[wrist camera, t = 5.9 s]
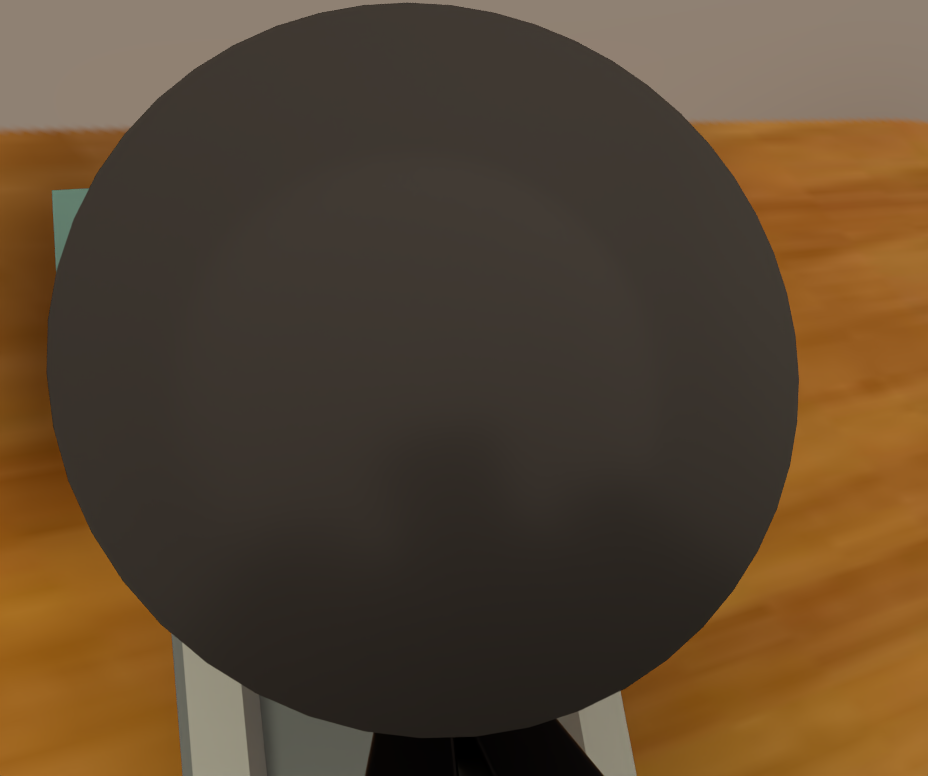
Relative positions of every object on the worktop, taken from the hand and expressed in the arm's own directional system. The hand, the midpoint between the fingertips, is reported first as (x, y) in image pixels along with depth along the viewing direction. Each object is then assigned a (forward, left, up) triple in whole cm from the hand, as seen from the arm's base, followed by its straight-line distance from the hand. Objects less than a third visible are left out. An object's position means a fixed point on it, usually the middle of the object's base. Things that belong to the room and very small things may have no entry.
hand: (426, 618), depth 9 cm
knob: (+2, -2, -6) cm, 7 cm away
